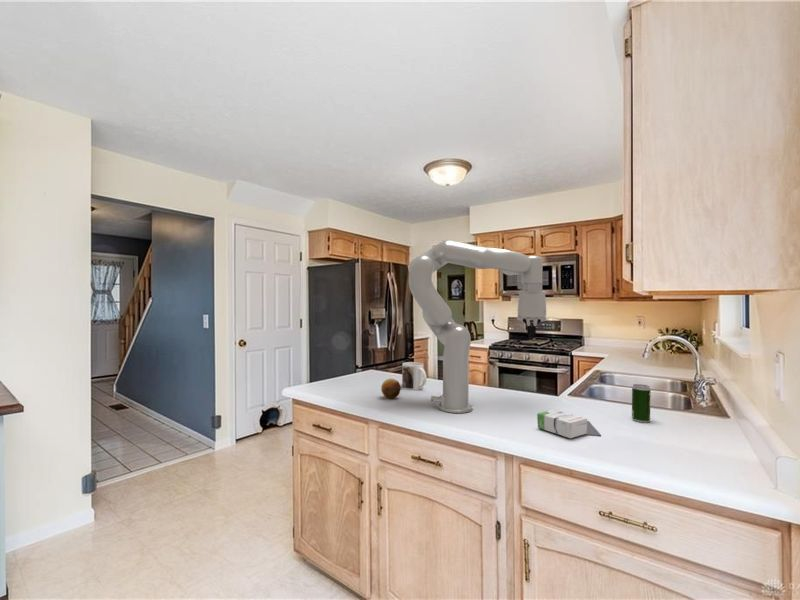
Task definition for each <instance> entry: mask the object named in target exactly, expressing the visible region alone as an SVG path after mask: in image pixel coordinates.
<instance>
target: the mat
mask: <svg viewBox="0 0 800 600" xmlns="http://www.w3.org/2000/svg"><path fill="white" fill-rule="evenodd" d="M583 436H591V437H592V436H593V437H594V436H595V437H602V434H601V433H600V432H599V431H598V430H597V428H596V427H595V426H594V425H593V424H592V423H591V422H590V421H589V420H587V434H584V435H583Z"/></svg>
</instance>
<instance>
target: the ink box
mask: <svg viewBox="0 0 800 600" xmlns="http://www.w3.org/2000/svg"><path fill="white" fill-rule="evenodd" d="M536 416H537V417H536V420H537V428H538V429H541V430H544V431H547V432H550V433H553V434H556V435H560V436H563V437H565V438H568V439H572V438H573V439H574V438H576V437H580V436H585V435H584V434H587V421H588V418H586V417H582V416H579V415H575V414H573V413H569V412H564V411H561V410H558V409H551V410H546V411H541V412H538V413H537V415H536Z"/></svg>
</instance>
